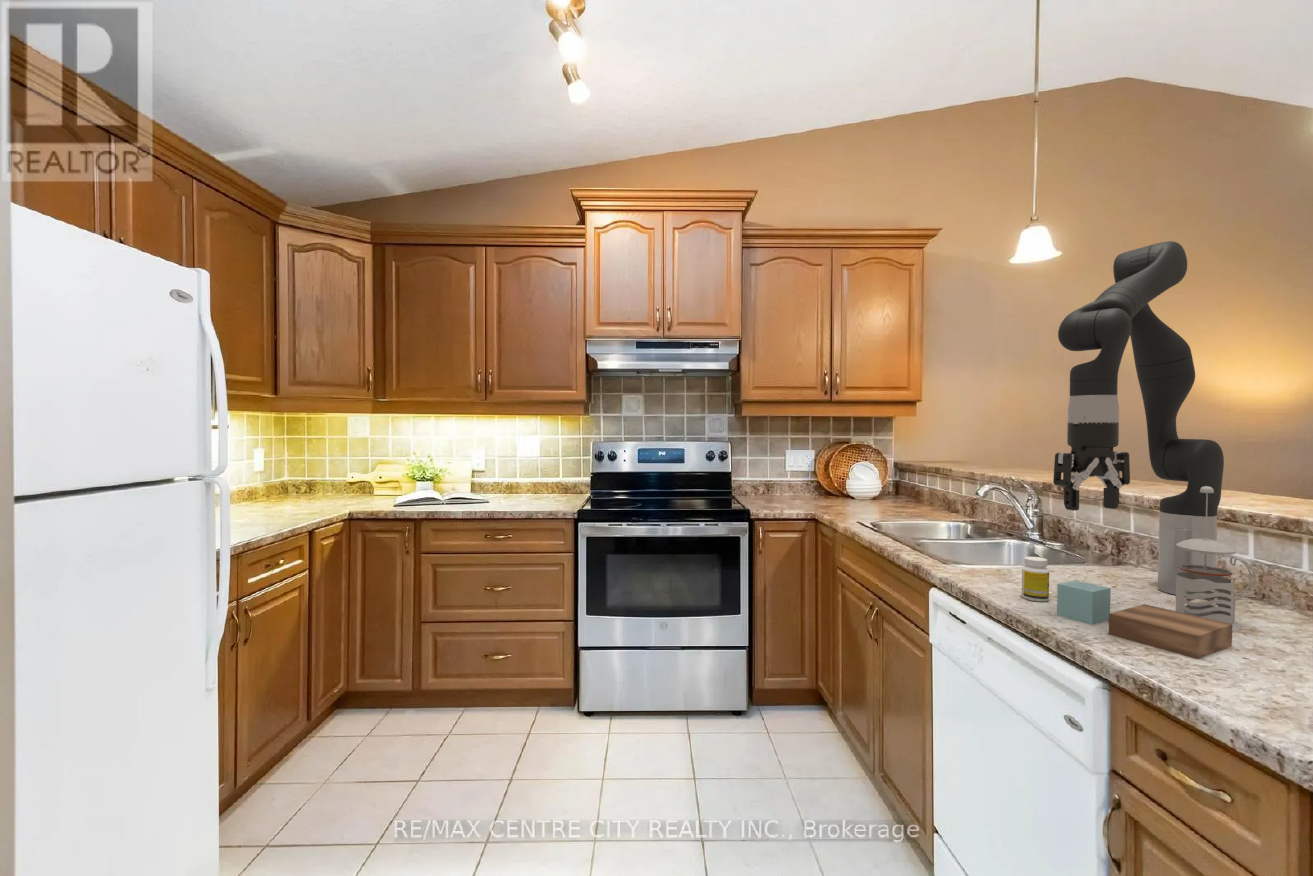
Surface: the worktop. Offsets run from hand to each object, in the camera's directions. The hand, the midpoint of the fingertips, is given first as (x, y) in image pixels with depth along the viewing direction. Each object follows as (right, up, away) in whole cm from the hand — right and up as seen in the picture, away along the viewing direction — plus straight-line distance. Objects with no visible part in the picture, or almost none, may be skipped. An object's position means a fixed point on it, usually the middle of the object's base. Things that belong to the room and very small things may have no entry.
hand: (1091, 509), depth 107 cm
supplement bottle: (-1, -21, +14) cm, 25 cm away
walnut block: (+6, -21, -9) cm, 24 cm away
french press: (+22, -21, 0) cm, 30 cm away
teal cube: (0, -21, +3) cm, 21 cm away
